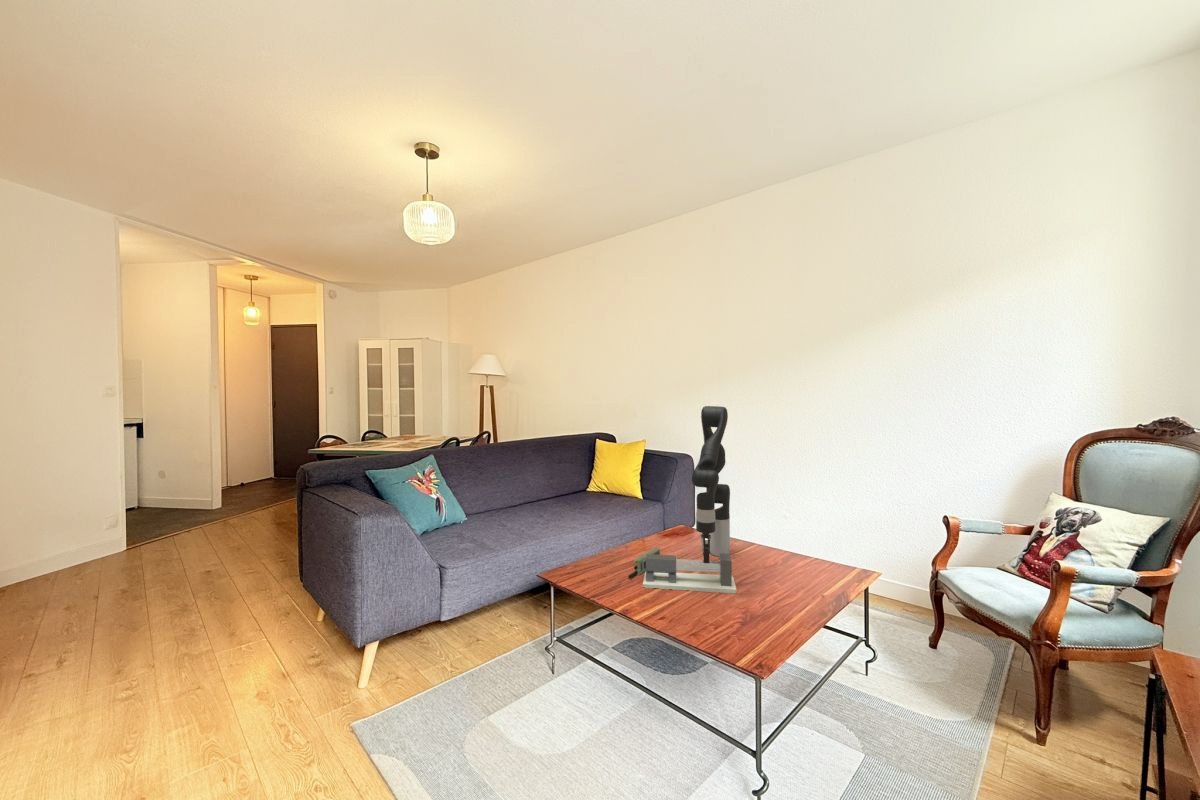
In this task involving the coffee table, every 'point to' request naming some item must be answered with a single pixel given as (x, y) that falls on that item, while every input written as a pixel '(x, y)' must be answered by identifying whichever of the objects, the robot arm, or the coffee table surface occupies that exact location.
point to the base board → (690, 583)
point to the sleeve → (661, 566)
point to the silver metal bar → (698, 565)
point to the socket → (726, 570)
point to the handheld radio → (643, 562)
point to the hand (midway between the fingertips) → (706, 559)
